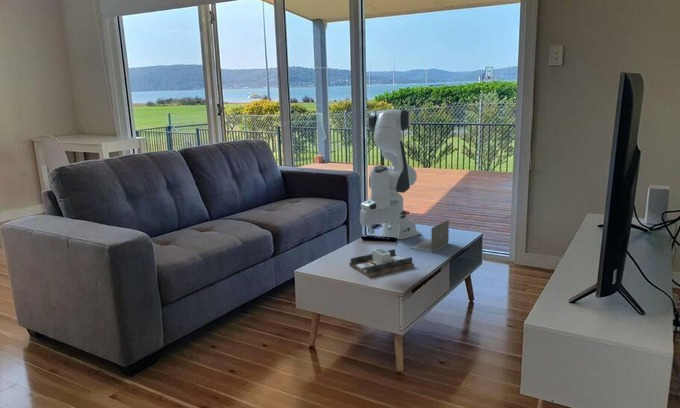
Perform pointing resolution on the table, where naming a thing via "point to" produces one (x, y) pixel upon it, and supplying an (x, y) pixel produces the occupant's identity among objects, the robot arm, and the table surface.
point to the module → (380, 255)
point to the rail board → (374, 268)
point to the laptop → (435, 238)
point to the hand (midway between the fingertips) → (380, 232)
